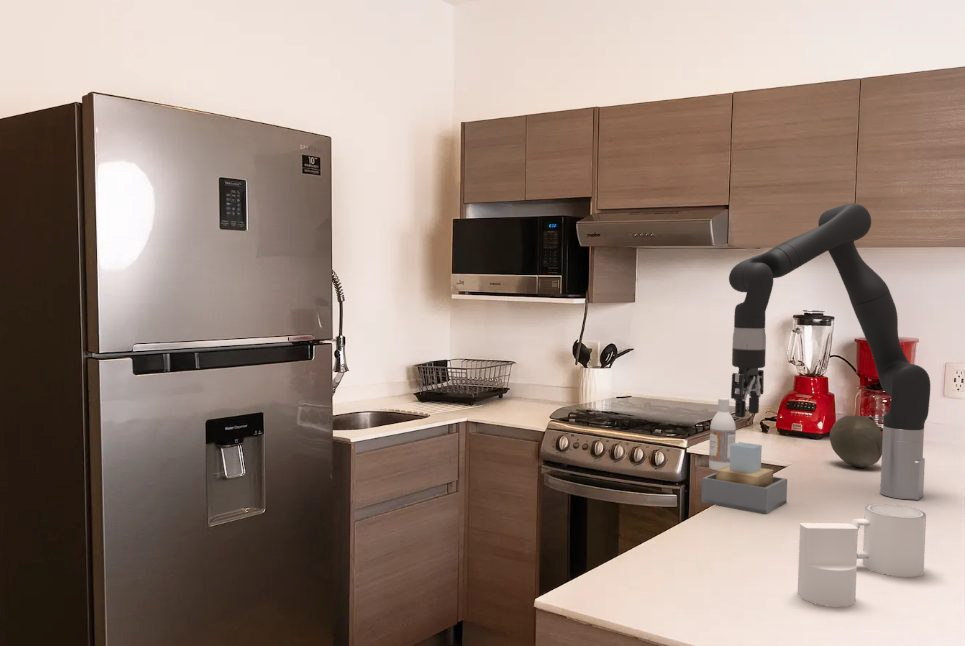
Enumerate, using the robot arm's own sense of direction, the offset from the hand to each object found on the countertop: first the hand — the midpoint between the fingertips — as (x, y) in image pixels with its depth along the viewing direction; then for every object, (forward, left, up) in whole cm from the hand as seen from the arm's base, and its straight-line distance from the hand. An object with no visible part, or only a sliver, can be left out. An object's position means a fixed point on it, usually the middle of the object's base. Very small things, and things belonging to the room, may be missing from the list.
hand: (747, 415), depth 202 cm
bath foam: (+19, -32, -21) cm, 43 cm away
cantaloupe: (-9, -62, -21) cm, 66 cm away
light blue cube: (0, 0, -13) cm, 13 cm away
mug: (-38, +28, -21) cm, 52 cm away
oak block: (0, 0, -20) cm, 20 cm away
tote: (0, 0, -21) cm, 21 cm away
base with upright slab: (-34, +51, -21) cm, 65 cm away
